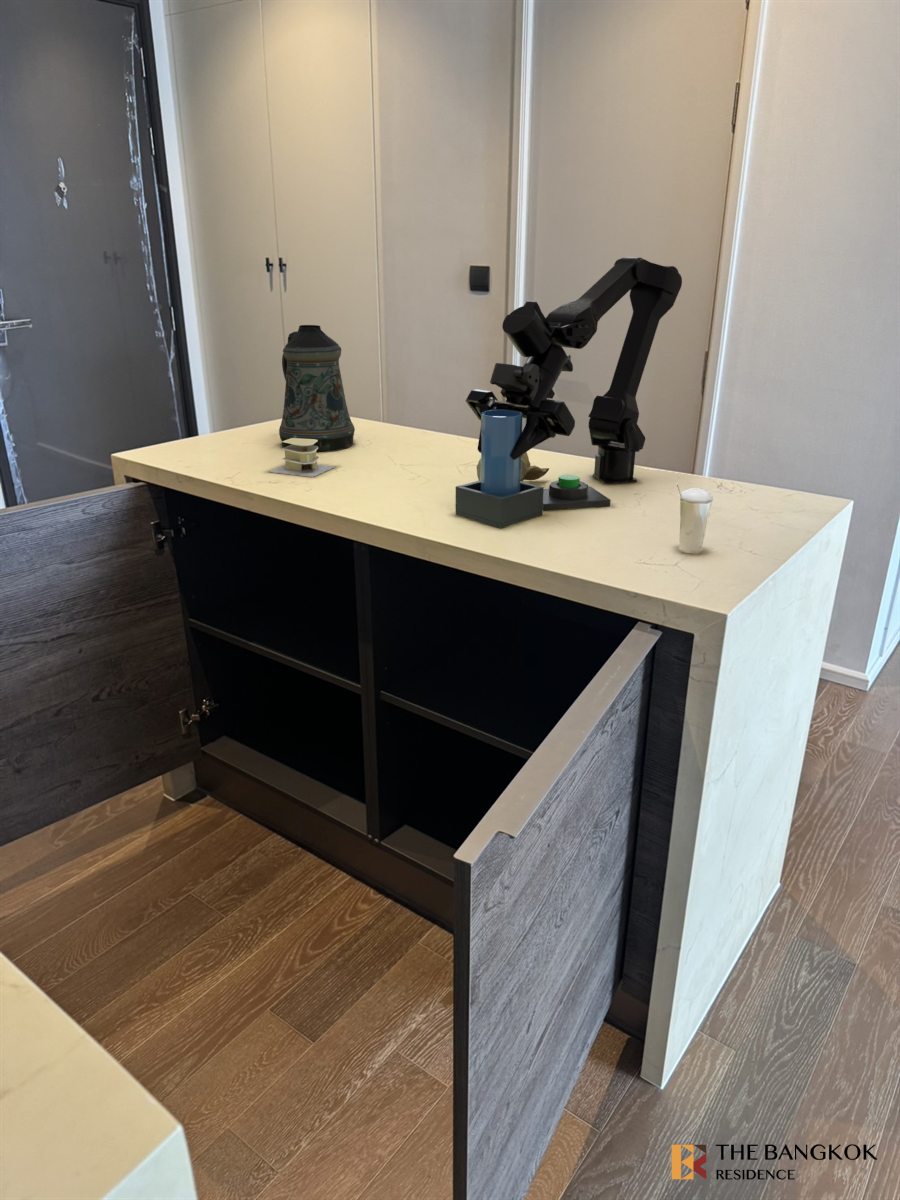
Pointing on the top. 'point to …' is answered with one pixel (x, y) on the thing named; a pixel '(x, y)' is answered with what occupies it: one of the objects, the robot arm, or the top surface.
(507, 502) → the open square box
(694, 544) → the milkshake
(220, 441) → the top surface
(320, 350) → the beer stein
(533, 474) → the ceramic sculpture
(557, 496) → the panel
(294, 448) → the stacked layers on plate
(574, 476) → the button
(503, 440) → the cup
